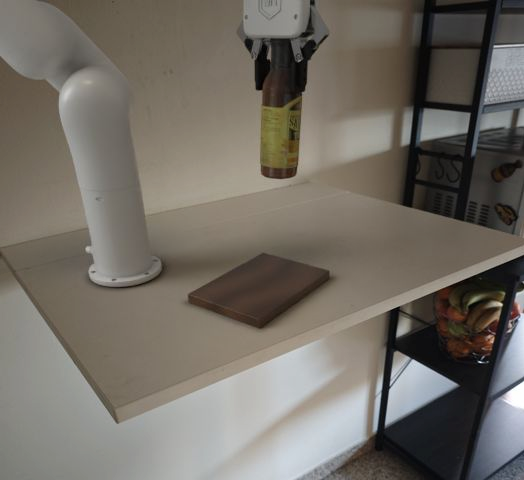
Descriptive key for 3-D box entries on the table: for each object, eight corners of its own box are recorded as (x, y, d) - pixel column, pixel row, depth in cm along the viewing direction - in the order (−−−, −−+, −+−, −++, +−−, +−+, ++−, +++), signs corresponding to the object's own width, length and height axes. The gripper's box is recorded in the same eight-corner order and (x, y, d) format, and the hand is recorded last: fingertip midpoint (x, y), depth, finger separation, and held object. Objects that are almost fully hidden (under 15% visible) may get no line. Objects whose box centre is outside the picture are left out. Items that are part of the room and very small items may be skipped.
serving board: (188, 302, 79) (187, 293, 78) (263, 260, 92) (263, 252, 91) (259, 328, 72) (259, 319, 71) (329, 278, 85) (329, 270, 84)
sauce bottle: (294, 182, 79) (302, 34, 68) (256, 179, 80) (258, 33, 69) (300, 171, 84) (308, 33, 73) (264, 168, 85) (267, 31, 74)
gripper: (213, -61, 67) (220, 90, 77) (325, -73, 59) (317, 97, 69) (246, -56, 72) (249, 85, 82) (354, -66, 64) (342, 92, 74)
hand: (280, 89), depth 75 cm, fingers closed on sauce bottle, 5 cm apart
